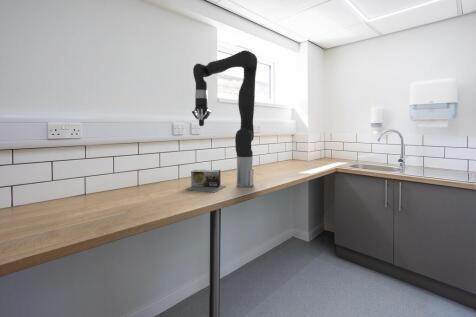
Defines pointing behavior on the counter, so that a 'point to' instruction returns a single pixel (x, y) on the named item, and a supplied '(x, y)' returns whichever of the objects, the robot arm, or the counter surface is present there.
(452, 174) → the counter surface
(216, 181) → the coffee box
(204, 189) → the mat
